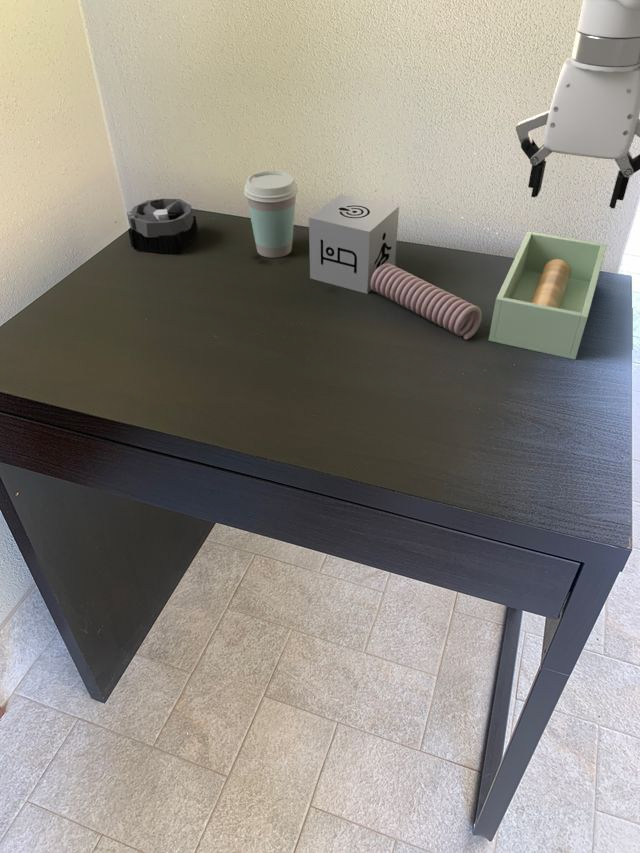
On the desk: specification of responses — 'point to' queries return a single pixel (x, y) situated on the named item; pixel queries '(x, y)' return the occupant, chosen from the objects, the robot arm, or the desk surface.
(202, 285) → the desk surface
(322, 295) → the desk surface
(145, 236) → the cpu cooler
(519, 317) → the bin
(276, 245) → the coffee cup
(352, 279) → the icon cube
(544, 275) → the wooden cylinder
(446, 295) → the coil
